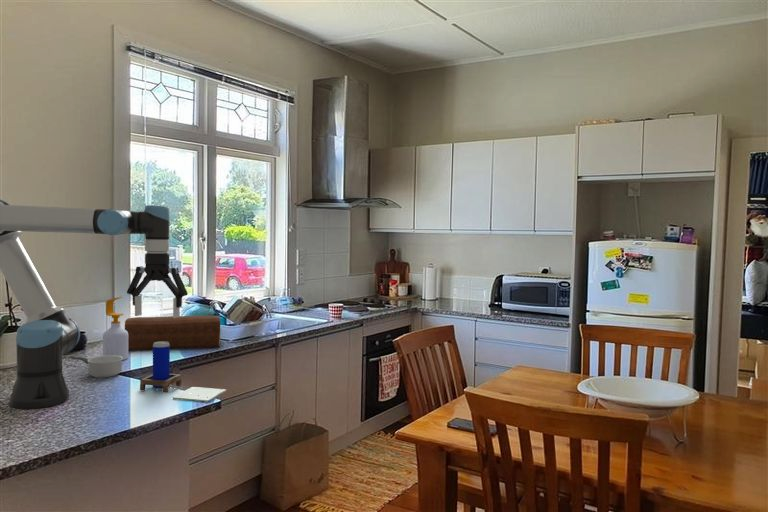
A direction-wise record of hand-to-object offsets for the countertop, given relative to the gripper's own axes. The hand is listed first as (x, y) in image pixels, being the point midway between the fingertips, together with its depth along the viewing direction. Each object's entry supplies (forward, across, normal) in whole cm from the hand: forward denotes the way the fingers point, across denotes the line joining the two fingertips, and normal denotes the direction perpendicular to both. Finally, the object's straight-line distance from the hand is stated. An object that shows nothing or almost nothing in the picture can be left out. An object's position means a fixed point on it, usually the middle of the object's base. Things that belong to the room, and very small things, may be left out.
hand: (157, 316), depth 189 cm
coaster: (+23, -19, +7) cm, 31 cm away
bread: (+24, +26, -58) cm, 68 cm away
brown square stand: (+23, -3, +2) cm, 23 cm away
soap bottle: (+23, +35, -30) cm, 52 cm away
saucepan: (+23, +29, -9) cm, 38 cm away
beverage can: (+23, -3, +2) cm, 24 cm away
